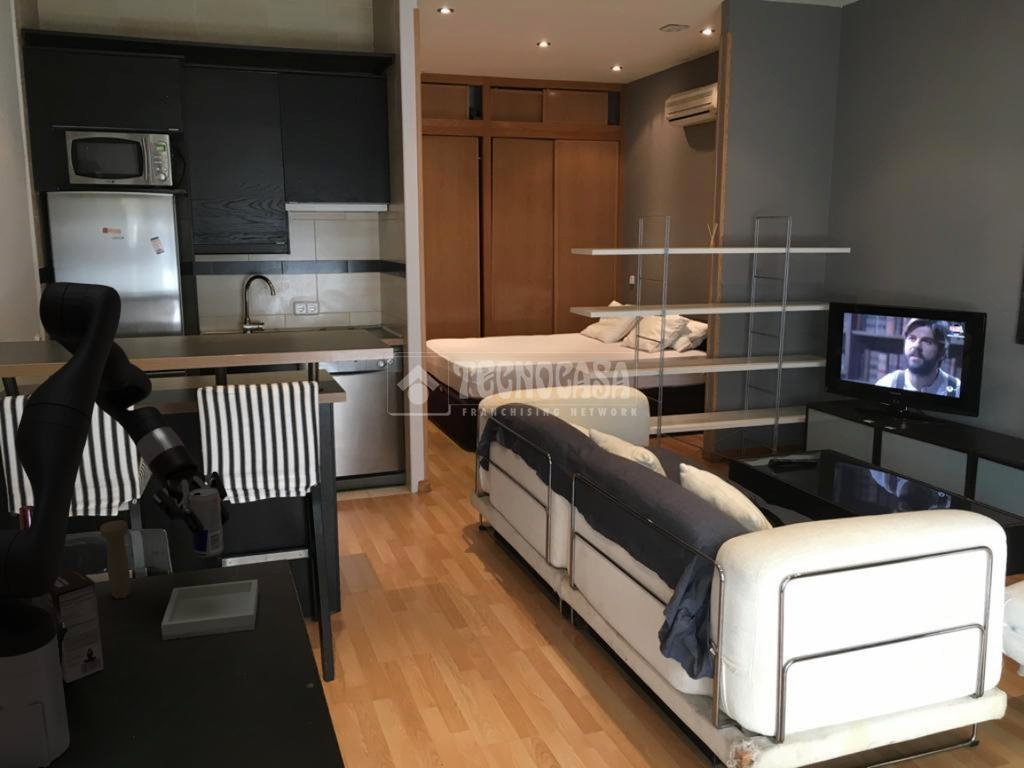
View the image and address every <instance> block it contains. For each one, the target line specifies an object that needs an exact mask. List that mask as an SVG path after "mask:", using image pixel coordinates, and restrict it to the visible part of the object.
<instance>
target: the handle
mask: <svg viewBox="0 0 1024 768" xmlns="http://www.w3.org/2000/svg"><path fill="white" fill-rule="evenodd" d="M99 530H100V532H99V533H100V535H101V537H102V538H105V541H106V560H107V575H108V582H109V586H110V590H111V592H110V593H111V596H112V597H113V598H115V599H116V600H120V599H125V598H127V597H128V596H129V595H130V594H131V588H130V586H131V583H130V582H131V580H130V579H131V578H130V565H129V559H128V554H127V553H128V552H127V549H126V543H125V535H126V534H127V533H128V530H129V528H128V523H127V521H126V520H122V519H121V520H111V521H108V522H105V523H103V524H101V525H100V528H99ZM127 595H128V596H127ZM119 598H120V599H119Z"/></svg>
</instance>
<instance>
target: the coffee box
mask: <svg viewBox="0 0 1024 768" xmlns="http://www.w3.org/2000/svg"><path fill="white" fill-rule="evenodd" d="M47 595H48V598H49V601H50V604H51V607H52V609H53V610H54V612H55V613H56V615H57V618H58V620H59V622H60V623H61V622H62V623H64V624H65V625H64V626H66V627H67V628H66V629H67V630H68V631H67V632H66V634H64V635H65V636H64V638H63V639H64V640H63V641H62V663H61V673H62V681H64V682H65V683H67V684H69V683H71V682H75V681H77V680H79V679H82V678H84V677H87V676H90V675H92V674H94V673H97V671H98V672H99V671H102V670H104V669H105V668H104V659H103V650H102V649H103V648H102V647H103V646H102V641H101V630H100V619H99V612H98V602H97V601H98V599H97V592H96V581H94V580H92V579H91V578H90V577H89V576H87V575H86V574H85V573H83V572H82V571H81V570H79V569H78V568H77V567H76V566H73V567H72V568H68V569H65V570H62V571H61V570H60V571H59V575H58V577H57V580H56V582H55V584H54V586H53V588H52V589H51V590H50V591H49V592H48V593H47Z"/></svg>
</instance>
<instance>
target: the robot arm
mask: <svg viewBox="0 0 1024 768" xmlns="http://www.w3.org/2000/svg"><path fill="white" fill-rule="evenodd" d="M38 305H39V308H38V312H39V320H40V323H41V325H42V327H43V329H44V331H45V332H46V333H47V334H48V335H49V336H50V337H51V338H52V339H53V340H54V341H55V342H57V343H58V344H59V345H60V346H62V347H63V348H64V349H65V350H66V351H67V352H69V354H71V355H72V357H71V358H70V359H69V360H68V361H67V362H66V363H65V364H64V365H62V366H61V367H60V368H59V369H57V371H55V372H54V373H52V375H50V376H49V377H48V378H46V380H44V381H43V382H42V383H41V384H40V385H39V386H38V387H37V388H35V390H33V392H32V393H31V394H30V395H29V397H28V398H27V400H26V402H25V404H24V406H23V410H22V413H21V417H20V420H19V423H18V427H17V430H16V434H15V442H14V445H15V451H16V453H17V456H18V459H19V461H20V464H21V466H22V469H23V471H24V472H25V475H26V477H27V479H28V482H29V484H30V487H31V489H32V492H33V499H34V502H33V511H32V517H31V521H30V523H29V527H28V528H27V529H1V530H0V768H39V767H44V768H47V766H48V767H50V765H51V763H52V762H53V761H54V760H56V759H57V758H59V757H61V755H63V754H64V753H65V751H67V750H68V749H69V747H70V744H71V737H70V730H69V722H68V720H69V719H68V715H67V714H68V713H67V709H66V707H67V705H66V699H65V698H66V697H65V692H64V691H65V690H64V683H63V681H64V680H63V679H62V673H61V665H60V657H59V648H58V640H57V633H56V623H55V619H54V616H53V615H52V613H50V612H49V611H47V610H45V609H43V608H41V607H40V606H37V605H34V604H32V603H30V602H28V601H26V600H25V599H28V598H29V599H31V598H39V597H41V596H44V595H46V594H47V593H48V592H49V591H50V590H51V589H52V588H53V586H54V584H55V582H56V580H57V577H58V575H59V572H61V568H62V563H63V559H64V558H63V557H64V552H65V546H66V540H67V533H68V525H69V519H70V518H69V517H70V513H71V512H70V510H71V504H72V500H73V494H74V489H75V485H76V481H77V478H78V473H79V469H80V466H81V465H80V464H81V461H82V458H83V457H82V456H83V454H84V451H85V447H86V445H87V439H88V435H89V434H90V433H89V432H90V428H91V424H92V419H93V413H94V408H95V404H96V405H97V407H98V408H99V409H101V410H102V411H103V412H104V413H106V414H107V415H109V416H110V418H112V419H113V420H114V421H115V422H117V423H118V424H119V425H120V426H121V427H122V428H123V429H124V431H125V432H126V433H127V434H128V436H129V437H130V439H131V440H132V442H133V443H134V446H135V447H136V448H137V450H138V452H139V454H140V457H141V459H142V460H143V462H144V464H146V466H147V468H148V469H149V471H150V472H151V474H152V476H153V477H154V479H155V480H156V482H157V483H158V484H159V485H160V486H161V487H162V489H161V488H158V489H157V490H156V492H155V493H154V495H153V496H152V497H151V500H152V501H153V503H154V504H155V505H156V506H157V507H158V508H159V509H160V510H161V511H162V513H164V514H165V516H166V517H168V518H169V519H170V520H171V521H176V520H182V521H183V522H184V524H186V525H185V526H187V528H188V530H189V531H190V532H191V534H192V533H194V534H195V535H198V534H200V533H201V532H202V531H203V526H202V524H201V523H200V521H199V520H198V518H197V517H196V515H195V514H194V513H191V506H190V501H189V497H190V492H191V491H193V490H195V489H199V488H207V487H211V488H216V489H218V492H219V495H220V507H221V520H222V526H223V525H226V524H227V523H228V522H229V521H230V513H229V511H228V510H227V509H226V507H225V505H224V504H223V502H224V500H225V499H226V498H227V497H228V493H227V491H226V488H225V486H224V484H223V481H222V478H221V476H220V474H219V472H218V471H215V470H214V471H213V472H211V473H209V474H204V473H203V472H201V471H200V470H199V469H198V466H197V461H195V459H194V457H193V456H192V454H190V453H191V452H189V450H188V449H187V447H186V446H185V444H184V443H183V442H182V440H181V438H180V436H178V435H177V433H176V432H175V431H174V430H173V429H172V427H171V426H170V425H169V423H168V422H167V420H166V418H165V417H164V415H163V414H162V413H161V412H160V410H159V409H158V407H156V406H152V405H150V406H149V405H148V406H143V407H139V408H136V409H129V408H131V407H133V406H134V405H136V404H138V403H140V402H142V401H144V400H145V399H147V398H148V397H149V396H150V395H151V393H152V389H153V384H152V381H151V378H150V377H149V375H148V374H147V373H146V372H145V371H144V370H143V369H141V368H140V367H139V366H137V365H135V363H134V364H133V363H131V361H130V359H129V357H128V355H127V354H126V351H124V349H123V348H122V347H121V345H119V344H118V343H117V342H115V341H114V340H115V337H116V334H117V330H118V328H119V324H120V319H121V314H122V301H121V296H120V293H119V292H118V291H117V289H116V288H114V287H113V286H109V285H105V284H97V283H85V282H84V283H83V282H72V281H71V282H70V281H57V282H52V283H50V284H48V285H46V287H44V289H43V291H42V294H41V296H40V300H39V304H38ZM170 497H171V498H173V499H174V500H175V502H174V500H173V499H171V498H170Z"/></svg>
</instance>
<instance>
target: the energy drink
mask: <svg viewBox="0 0 1024 768" xmlns="http://www.w3.org/2000/svg"><path fill="white" fill-rule="evenodd" d="M189 501H190V506H191V513H194V514H195V515H196V517H197V518H198V520H199V521H200V523H201V524H202V526H203V531H202V532H201V533H200V534H198V535H195V534H194V533H192V532H191V535H192V547H193V554H194V555H195V556H197V557H199V558H210V557H214V556H218V555H221V553H222V552H223V551H224V548H225V547H224V535H223V525H222V520H221V507H220V495H219V492H218V489H216V488H211V487H210V486H209V487H207V488H199V489H195V490H193V491H191V492H190V497H189Z"/></svg>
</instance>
